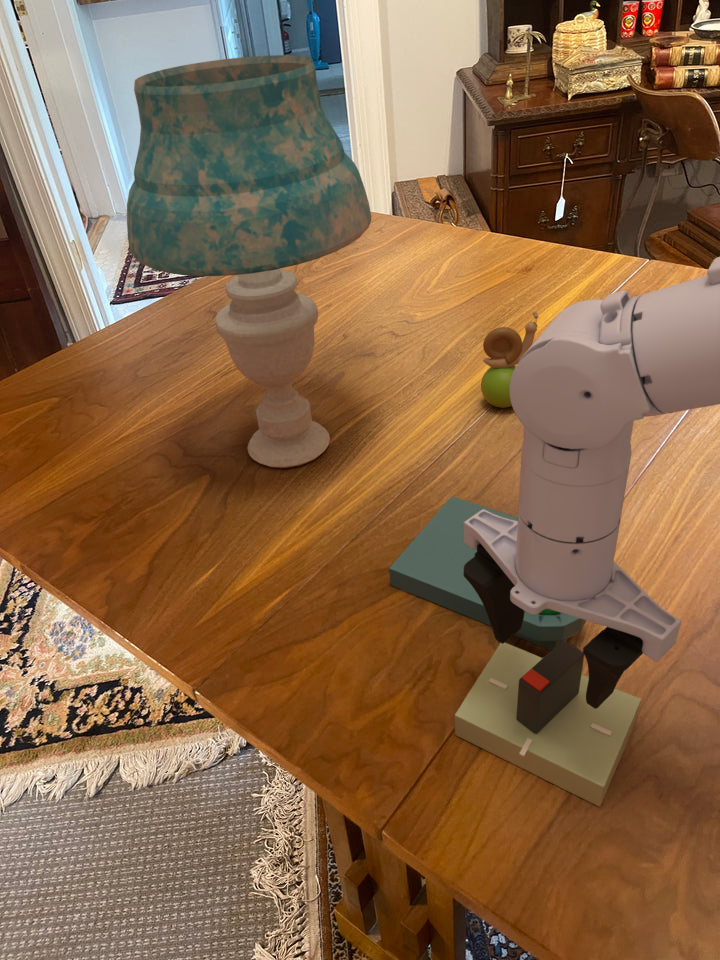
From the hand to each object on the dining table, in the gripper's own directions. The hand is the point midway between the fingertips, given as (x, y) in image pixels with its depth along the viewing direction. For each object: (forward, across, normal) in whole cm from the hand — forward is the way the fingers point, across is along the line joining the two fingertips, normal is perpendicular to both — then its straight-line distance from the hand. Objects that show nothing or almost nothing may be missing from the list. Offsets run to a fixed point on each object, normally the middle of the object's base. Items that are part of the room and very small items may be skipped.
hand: (551, 664), depth 50 cm
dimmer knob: (+5, 0, 0) cm, 5 cm away
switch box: (+7, -12, +9) cm, 17 cm away
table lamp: (+8, -45, +10) cm, 47 cm away
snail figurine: (+8, -32, +34) cm, 47 cm away
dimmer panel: (+7, 0, 0) cm, 7 cm away
